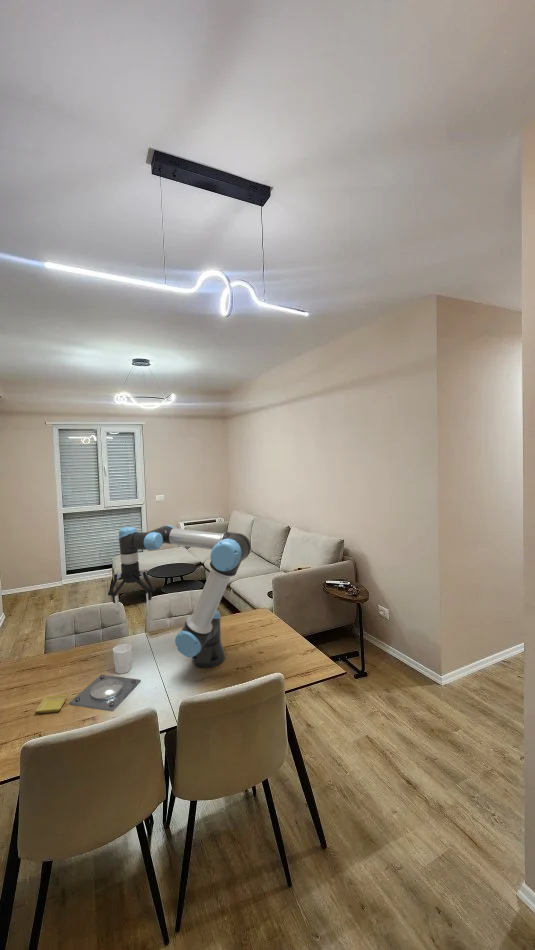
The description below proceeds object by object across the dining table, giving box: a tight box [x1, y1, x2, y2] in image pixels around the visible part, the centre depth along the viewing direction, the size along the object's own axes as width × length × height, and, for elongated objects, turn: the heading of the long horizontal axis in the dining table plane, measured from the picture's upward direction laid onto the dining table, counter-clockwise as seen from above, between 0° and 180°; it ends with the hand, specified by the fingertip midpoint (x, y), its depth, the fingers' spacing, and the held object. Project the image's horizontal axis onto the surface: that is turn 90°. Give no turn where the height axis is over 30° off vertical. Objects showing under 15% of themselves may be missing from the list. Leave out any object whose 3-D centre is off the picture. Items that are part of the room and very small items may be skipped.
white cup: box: [112, 643, 133, 675], centre depth 174 cm, size 8×8×10 cm
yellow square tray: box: [35, 694, 68, 714], centre depth 150 cm, size 9×9×2 cm
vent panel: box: [69, 674, 142, 712], centre depth 158 cm, size 19×19×2 cm
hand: (133, 608), depth 177 cm, fingers open, 13 cm apart
